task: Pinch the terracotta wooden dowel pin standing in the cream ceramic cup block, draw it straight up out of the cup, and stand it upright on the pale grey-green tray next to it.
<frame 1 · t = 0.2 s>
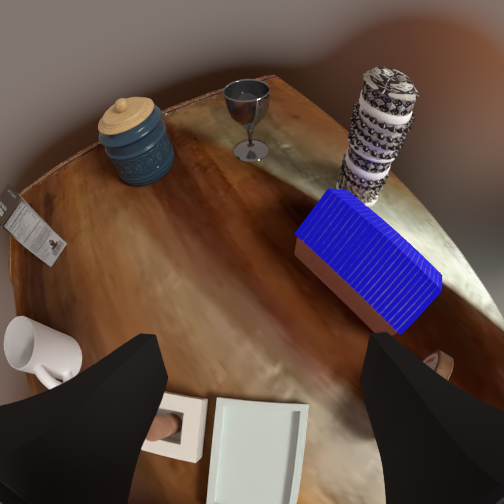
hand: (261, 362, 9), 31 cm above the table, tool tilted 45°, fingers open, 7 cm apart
canister: (147, 165, 57), on the table
mug: (70, 367, 38), on the table
tin: (403, 398, 33), on the table
coffee box: (50, 247, 49), on the table
wine glass: (251, 150, 57), on the table
cup block: (174, 422, 34), on the table
house: (360, 274, 43), on the table
decorative candle: (357, 190, 51), on the table
tray: (256, 460, 31), on the table
pin: (172, 423, 33), point 1 cm above the table, touching cup block
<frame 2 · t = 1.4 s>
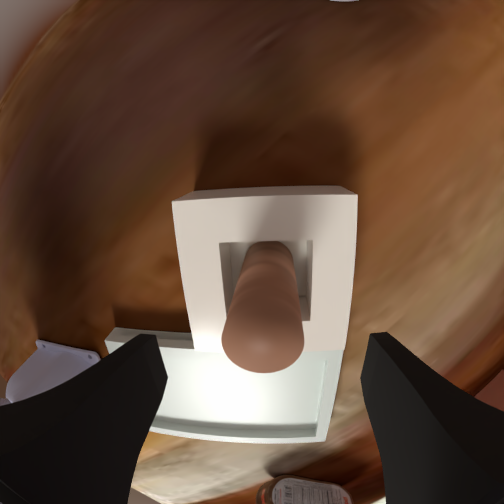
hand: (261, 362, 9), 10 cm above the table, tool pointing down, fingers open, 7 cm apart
tin: (309, 479, 29), on the table
cup block: (269, 257, 18), on the table
house: (454, 428, 25), on the table
tray: (226, 388, 23), on the table
pin: (268, 263, 17), point 1 cm above the table, touching cup block
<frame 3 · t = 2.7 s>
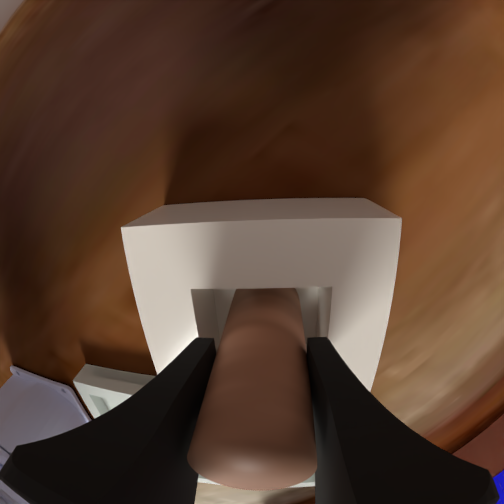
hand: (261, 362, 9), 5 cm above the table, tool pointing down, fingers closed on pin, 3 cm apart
cup block: (266, 294, 14), on the table
house: (467, 454, 20), on the table
tray: (216, 434, 18), on the table
pin: (266, 304, 13), point 1 cm above the table, touching cup block, gripper
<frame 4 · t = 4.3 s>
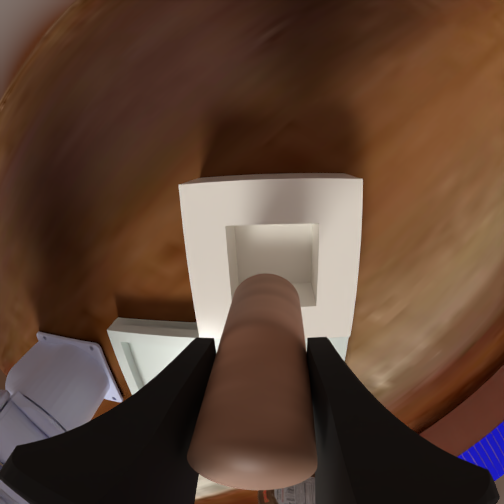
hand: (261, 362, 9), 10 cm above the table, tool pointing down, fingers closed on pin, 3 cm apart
tin: (311, 475, 29), on the table
cup block: (274, 244, 18), on the table
house: (458, 422, 25), on the table
tray: (229, 379, 23), on the table
pin: (266, 304, 13), point 6 cm above the table, touching gripper
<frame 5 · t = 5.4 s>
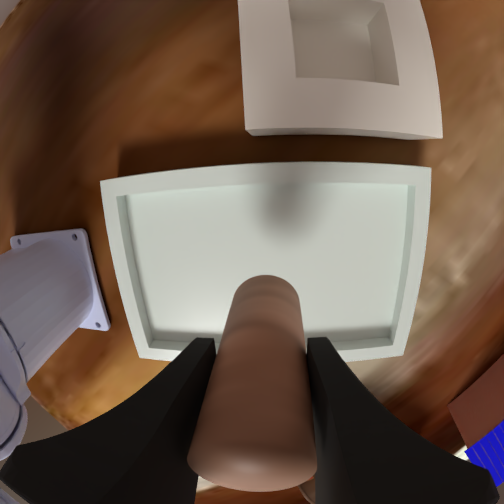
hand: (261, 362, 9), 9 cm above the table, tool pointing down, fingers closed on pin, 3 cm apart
cup block: (329, 60, 13), on the table
tray: (268, 265, 17), on the table
pin: (266, 305, 13), point 5 cm above the table, touching gripper
when the fingers open (6 cm above the table, at t = 6.1 s): pin drops 1 cm, resting on tray.
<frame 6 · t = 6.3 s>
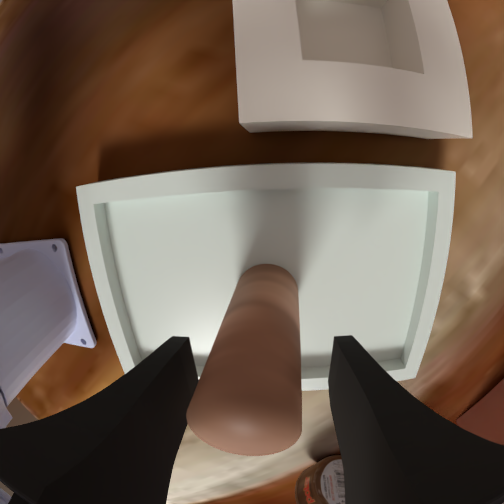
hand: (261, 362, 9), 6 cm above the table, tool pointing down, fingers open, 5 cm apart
tin: (360, 462, 21), on the table
cup block: (338, 46, 11), on the table
tray: (267, 282, 15), on the table
pin: (267, 292, 14), point 1 cm above the table, touching tray
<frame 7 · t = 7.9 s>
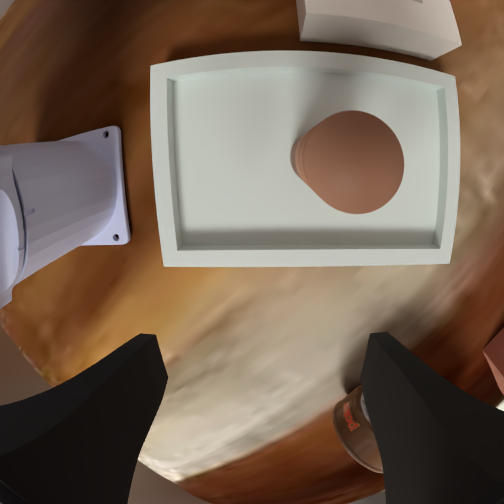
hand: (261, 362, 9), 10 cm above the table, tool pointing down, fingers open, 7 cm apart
tin: (391, 399, 22), on the table
tray: (314, 157, 16), on the table
pin: (317, 157, 15), point 1 cm above the table, touching tray
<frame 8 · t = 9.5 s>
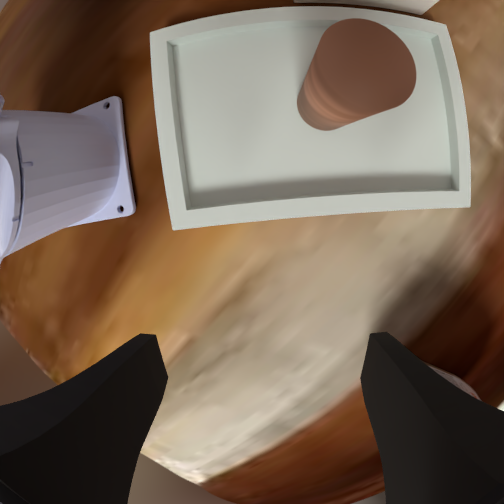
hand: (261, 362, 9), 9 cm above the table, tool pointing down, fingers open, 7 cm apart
tin: (423, 370, 20), on the table
tray: (321, 106, 14), on the table
pin: (324, 104, 14), point 1 cm above the table, touching tray
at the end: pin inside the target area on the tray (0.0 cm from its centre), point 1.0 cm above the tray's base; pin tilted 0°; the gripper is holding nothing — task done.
